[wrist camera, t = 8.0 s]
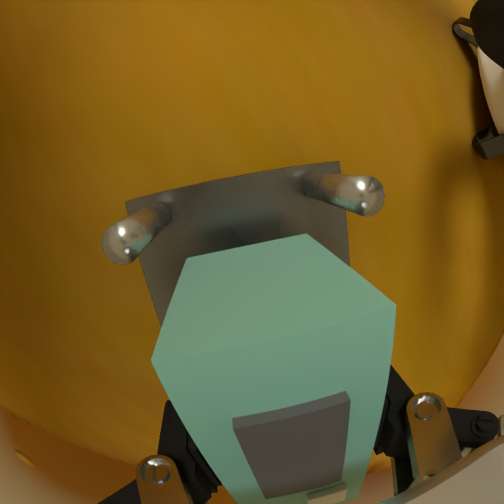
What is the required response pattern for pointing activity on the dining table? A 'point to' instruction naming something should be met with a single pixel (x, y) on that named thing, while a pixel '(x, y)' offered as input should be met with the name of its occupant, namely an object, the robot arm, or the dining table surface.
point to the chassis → (237, 219)
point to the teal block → (278, 369)
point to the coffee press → (488, 68)
